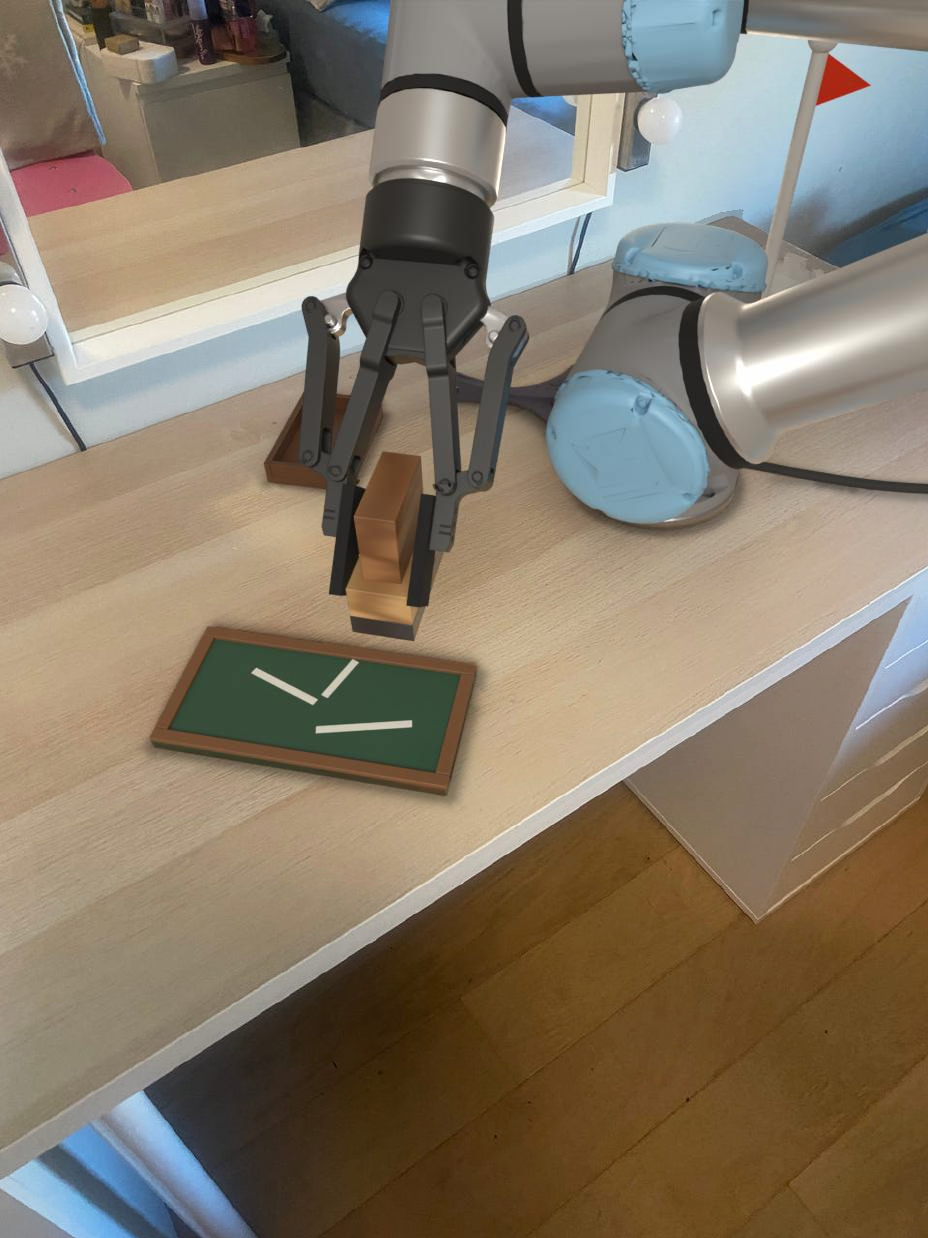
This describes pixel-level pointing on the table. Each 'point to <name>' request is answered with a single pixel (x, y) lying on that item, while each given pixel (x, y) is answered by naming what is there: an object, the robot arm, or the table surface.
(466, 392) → the dark squeegee
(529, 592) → the table surface
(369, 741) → the chalkboard
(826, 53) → the flag stand
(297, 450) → the shallow brown tray
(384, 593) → the eraser
